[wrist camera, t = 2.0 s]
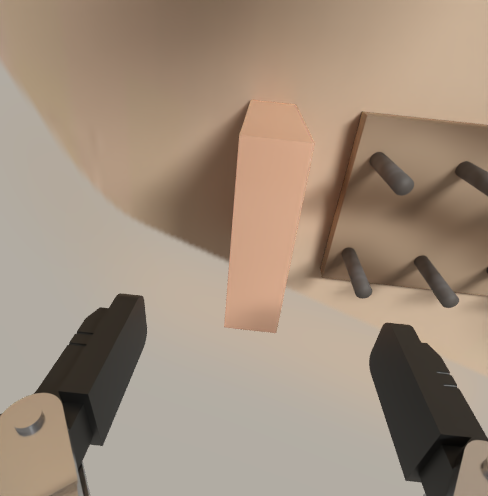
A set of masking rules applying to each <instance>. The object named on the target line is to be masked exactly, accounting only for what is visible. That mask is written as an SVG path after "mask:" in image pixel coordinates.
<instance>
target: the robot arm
mask: <svg viewBox="0 0 488 496" xmlns="http://www.w3.org/2000/svg"><path fill="white" fill-rule="evenodd" d="M146 334H147V325H146V315H145V305H144V299H143V296H139V295H129V294H118V295H117V296H116V298H115V299H114V301H113V302H112V304H111V306H110V307H109V308H99V309H97V310H96V311H95V312H94V313H92V314H91V315H90V316H88V317H87V318H86V319H85V320H84V322H83V323H82V325H81V326H80V328H79V329H78V331H77V334H75V335H74V337H73V338H72V340H71V341H70V344H69V345H67V347H66V348H65V350H64V351H63V353H62V354H61V356H60V357H59V359H58V360H57V362H56V363H55V364H54V366H53V367H52V369H51V370H50V372H49V373H48V375H47V376H46V378H45V379H44V381H43V382H42V384H41V385H40V387H39V388H38V389H37V391H36V392H35V393H34V394H32V395H29V396H26V397H24V398H22V399H20V400H18V401H17V402H15V403H14V404H12V405H11V406H10V407H9V408H7V409H6V410H5V411H4V412H3V413H2V414H0V496H90V492H89V488H88V483H87V478H86V474H85V470H84V465H83V461H82V460H83V458H84V456H85V454H86V452H87V449H88V447H89V445H90V444H91V445H100V446H103V443H104V441H105V439H106V436H107V434H108V432H109V429H110V427H111V424H112V422H113V420H114V417H115V415H116V412H117V410H118V407H119V405H120V403H121V400H122V398H123V396H124V393H125V391H126V388H127V386H128V384H129V381H130V379H131V376H132V374H133V372H134V369H135V367H136V364H137V362H138V359H139V357H140V355H141V352H142V350H143V348H144V345H145V341H146ZM369 366H370V372H371V375H372V378H373V381H374V384H375V388H376V391H377V394H378V397H379V400H380V403H381V406H382V409H383V412H384V415H385V418H386V422H387V425H388V428H389V431H390V434H391V437H392V440H393V443H394V446H395V449H396V452H397V455H398V459H399V462H400V465H401V468H402V470H403V474H404V477H405V480H406V481H414V482H422V485H423V488H424V490H425V494H424V495H423V496H488V438H487V437H486V435H485V433H484V431H483V430H482V428H481V426H480V424H479V423H478V421H477V419H476V417H475V416H474V414H473V412H472V410H471V409H470V407H469V405H468V404H467V402H466V400H465V398H464V396H463V395H462V393H461V391H460V390H459V389H458V388H457V384H456V383H455V381H454V379H453V377H452V376H451V375H450V374H449V373H450V372H449V370H448V368H447V367H446V365H445V363H444V361H443V360H442V358H441V357H440V356H439V355H438V354H437V353H436V352H435V351H434V350H433V349H432V348H431V347H430V346H429V345H428V344H427V343H421V341H420V340H419V338H418V336H417V334H416V332H415V330H414V329H413V327H412V326H410V325H404V324H394V323H385V324H384V325H383V326H382V329H381V331H380V333H379V335H378V338H377V340H376V343H375V345H374V347H373V349H372V352H371V355H370V360H369Z"/></svg>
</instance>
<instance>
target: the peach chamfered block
mask: <svg viewBox="0 0 488 496" xmlns="http://www.w3.org/2000/svg"><path fill="white" fill-rule="evenodd" d="M314 145H315V143H314V141H313V139H312V136H311V134H310V132H309V130H308V128H307V126H306V124H305V122H304V120H303V118H302V116H301V114H300V112H299V110H298V108H297V106H296V104H287V103H277V102H268V101H258V100H251V101H250V104H249V107H248V110H247V113H246V116H245V119H244V122H243V125H242V128H241V131H240V134H239V145H238V158H237V170H236V183H235V196H234V209H233V221H232V234H231V247H230V260H229V273H228V287H227V299H226V312H225V324H224V327H226V328H235V329H243V330H253V331H261V332H270V333H276V331H277V327H278V322H279V317H280V312H281V307H282V302H283V297H284V292H285V288H286V283H287V278H288V273H289V268H290V263H291V258H292V253H293V248H294V243H295V238H296V234H297V229H298V224H299V219H300V214H301V209H302V204H303V199H304V194H305V189H306V184H307V180H308V175H309V170H310V165H311V160H312V155H313V150H314Z"/></svg>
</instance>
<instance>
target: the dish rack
mask: <svg viewBox="0 0 488 496" xmlns="http://www.w3.org/2000/svg"><path fill="white" fill-rule="evenodd" d="M320 270H321V274H322V278H331V279H340V280H349V281H351V282H352V285H353V288H354V291H355V294H356V296H357V297H359V298H367V297H369V296H370V295H371V294H372V289H371V287H370V284H369V283H376V284H385V285H394V286H403V287H412V288H421V289H431V290H432V291H433V293H434V294H435V296H436V297H437V298H438V300H439V301H440V303H441V304H442V306H443V307H446V308H451V307H454V306H455V305H457V304H458V302H459V298H458V297H457V296H456V294H455V293H454V292H458V293H467V294H476V295H485V296H488V125H483V124H474V123H464V122H455V121H445V120H436V119H427V118H417V117H408V116H398V115H389V114H380V113H370V112H362V114H361V118H360V122H359V126H358V129H357V133H356V137H355V141H354V144H353V148H352V152H351V156H350V159H349V163H348V167H347V171H346V174H345V178H344V182H343V185H342V189H341V193H340V197H339V200H338V204H337V208H336V212H335V215H334V219H333V223H332V227H331V230H330V234H329V238H328V241H327V245H326V249H325V253H324V256H323V260H322V264H321V268H320Z"/></svg>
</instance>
